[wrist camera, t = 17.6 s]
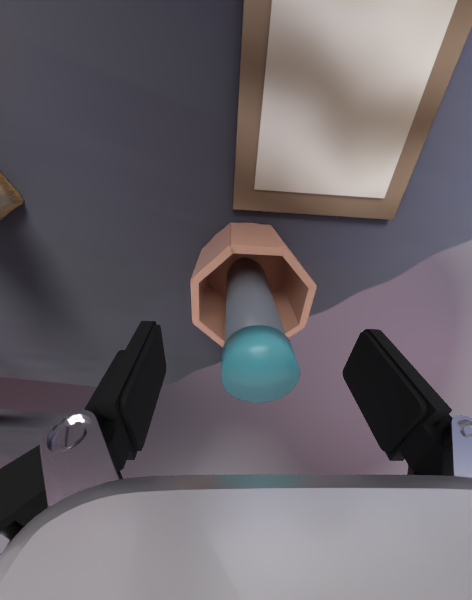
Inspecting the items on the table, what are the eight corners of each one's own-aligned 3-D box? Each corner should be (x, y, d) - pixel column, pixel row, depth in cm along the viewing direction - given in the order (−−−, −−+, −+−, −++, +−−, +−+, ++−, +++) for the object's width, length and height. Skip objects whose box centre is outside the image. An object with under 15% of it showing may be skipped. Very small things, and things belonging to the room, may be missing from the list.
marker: (226, 250, 19) (222, 346, 9) (266, 252, 19) (307, 349, 9) (225, 286, 21) (219, 401, 10) (261, 287, 21) (291, 403, 11)
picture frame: (249, -102, 11) (250, -120, 10) (501, -68, 11) (518, -83, 11) (232, 208, 18) (232, 209, 17) (388, 218, 19) (394, 220, 18)
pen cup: (201, 219, 18) (188, 242, 13) (297, 225, 19) (326, 250, 13) (202, 302, 22) (193, 348, 17) (281, 305, 23) (298, 351, 17)
